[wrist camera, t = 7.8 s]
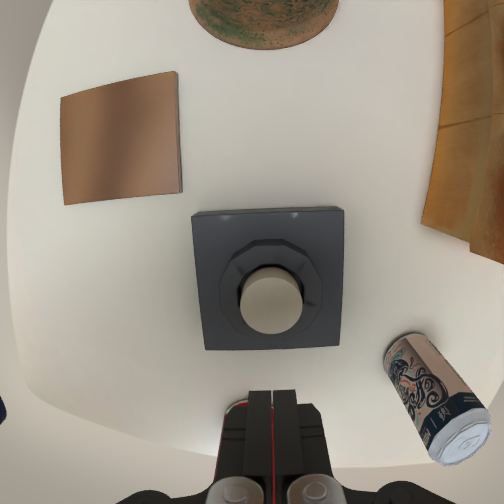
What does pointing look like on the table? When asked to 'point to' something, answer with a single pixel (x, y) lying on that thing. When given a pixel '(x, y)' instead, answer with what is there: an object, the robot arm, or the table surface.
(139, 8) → the table surface
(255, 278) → the stove knob
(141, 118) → the plate
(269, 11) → the mug
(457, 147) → the bread
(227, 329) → the panel
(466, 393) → the beer can
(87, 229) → the table surface
